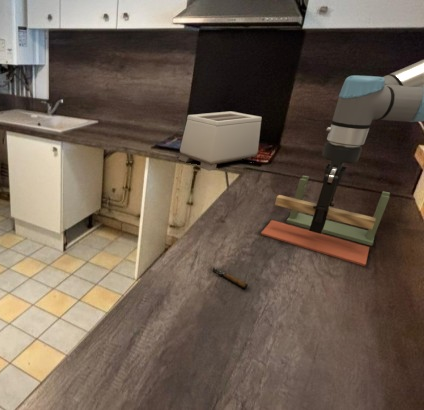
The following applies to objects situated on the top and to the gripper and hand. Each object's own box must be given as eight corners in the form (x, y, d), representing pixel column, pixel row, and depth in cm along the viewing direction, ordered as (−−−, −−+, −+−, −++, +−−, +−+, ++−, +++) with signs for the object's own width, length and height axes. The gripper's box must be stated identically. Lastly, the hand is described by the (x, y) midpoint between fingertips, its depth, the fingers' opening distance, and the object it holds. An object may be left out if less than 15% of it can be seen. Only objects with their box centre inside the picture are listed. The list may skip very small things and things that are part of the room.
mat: (368, 249, 94) (369, 247, 94) (364, 266, 86) (365, 264, 86) (271, 221, 108) (271, 219, 108) (260, 234, 100) (261, 232, 100)
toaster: (260, 160, 168) (270, 116, 160) (209, 170, 153) (217, 122, 144) (227, 151, 184) (235, 110, 175) (177, 159, 168) (183, 114, 160)
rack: (374, 235, 101) (391, 191, 96) (371, 246, 96) (390, 199, 90) (292, 214, 114) (303, 173, 108) (286, 222, 108) (297, 180, 102)
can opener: (247, 288, 77) (248, 283, 77) (240, 291, 76) (241, 286, 76) (215, 267, 85) (216, 263, 84) (208, 269, 84) (209, 265, 83)
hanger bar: (372, 226, 89) (376, 217, 88) (371, 229, 87) (375, 221, 86) (276, 202, 101) (279, 194, 100) (274, 204, 100) (276, 196, 99)
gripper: (330, 136, 94) (306, 216, 103) (320, 146, 83) (294, 235, 93) (365, 140, 90) (336, 224, 99) (359, 152, 79) (327, 245, 88)
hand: (316, 229), depth 96 cm, fingers closed on hanger bar, 2 cm apart
